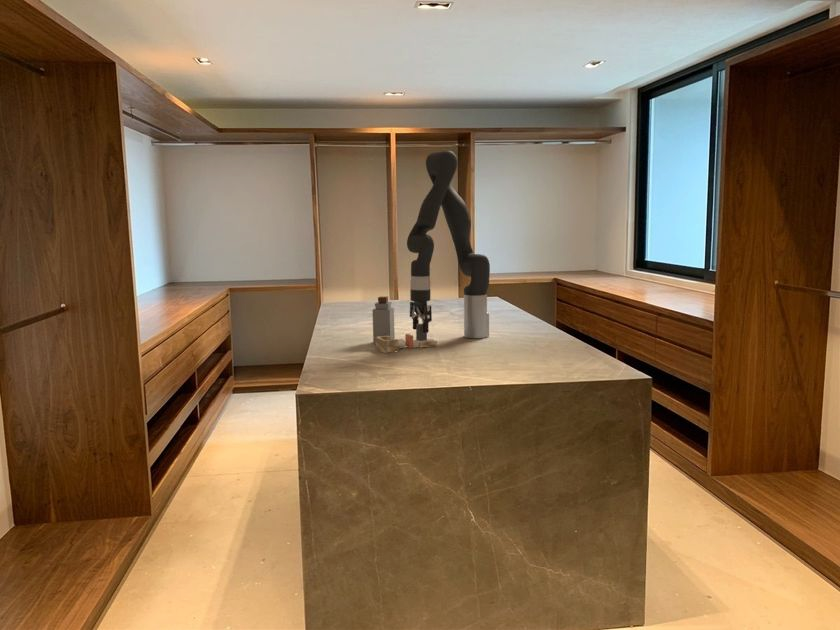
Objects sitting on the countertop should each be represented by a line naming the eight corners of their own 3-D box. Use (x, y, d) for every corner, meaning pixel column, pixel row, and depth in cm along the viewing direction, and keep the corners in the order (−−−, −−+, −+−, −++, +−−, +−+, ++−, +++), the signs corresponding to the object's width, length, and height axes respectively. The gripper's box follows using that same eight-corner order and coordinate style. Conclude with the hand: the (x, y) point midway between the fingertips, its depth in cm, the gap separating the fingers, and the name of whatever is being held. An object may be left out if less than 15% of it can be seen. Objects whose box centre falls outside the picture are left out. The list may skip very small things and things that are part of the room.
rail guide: (430, 343, 249) (430, 338, 248) (437, 346, 243) (437, 340, 243) (413, 345, 246) (413, 340, 245) (420, 348, 240) (420, 342, 240)
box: (389, 347, 243) (388, 335, 242) (398, 351, 235) (398, 339, 234) (375, 348, 241) (375, 337, 240) (384, 353, 233) (384, 341, 232)
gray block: (429, 343, 248) (429, 322, 246) (435, 345, 244) (434, 324, 243) (405, 346, 243) (405, 324, 242) (410, 348, 240) (410, 326, 238)
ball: (403, 347, 243) (403, 337, 242) (407, 348, 239) (407, 339, 239) (394, 348, 241) (394, 338, 241) (398, 349, 238) (398, 340, 237)
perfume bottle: (390, 344, 247) (389, 298, 245) (373, 344, 249) (372, 298, 246) (394, 341, 254) (393, 296, 251) (378, 341, 255) (376, 295, 252)
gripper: (438, 289, 236) (437, 333, 238) (421, 285, 248) (421, 327, 251) (419, 290, 233) (419, 334, 235) (403, 286, 245) (403, 328, 248)
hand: (420, 331), depth 243 cm, fingers open, 8 cm apart
